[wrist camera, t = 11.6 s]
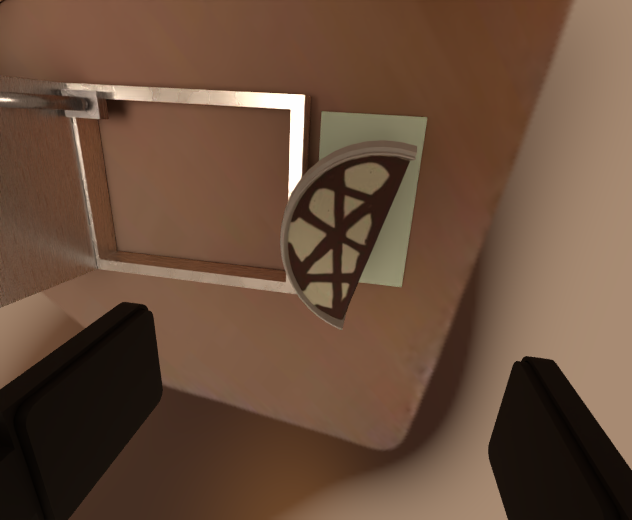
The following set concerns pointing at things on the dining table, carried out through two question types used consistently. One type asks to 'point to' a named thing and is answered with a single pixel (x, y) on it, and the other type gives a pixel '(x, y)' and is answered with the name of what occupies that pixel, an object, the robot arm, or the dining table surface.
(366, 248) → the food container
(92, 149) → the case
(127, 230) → the dining table surface
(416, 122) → the mat
